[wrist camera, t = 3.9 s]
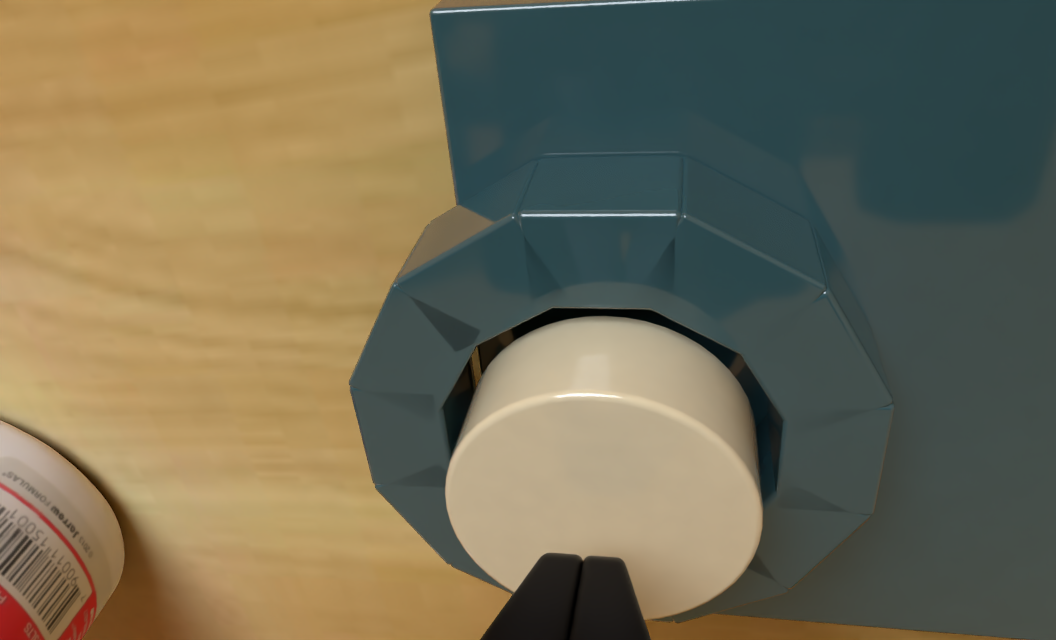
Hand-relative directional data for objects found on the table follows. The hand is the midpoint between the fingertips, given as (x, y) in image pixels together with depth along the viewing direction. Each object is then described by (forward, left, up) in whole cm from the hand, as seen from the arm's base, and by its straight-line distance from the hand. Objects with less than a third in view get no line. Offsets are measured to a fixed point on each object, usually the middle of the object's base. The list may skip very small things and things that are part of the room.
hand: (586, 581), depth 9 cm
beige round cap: (0, 0, -2) cm, 2 cm away
